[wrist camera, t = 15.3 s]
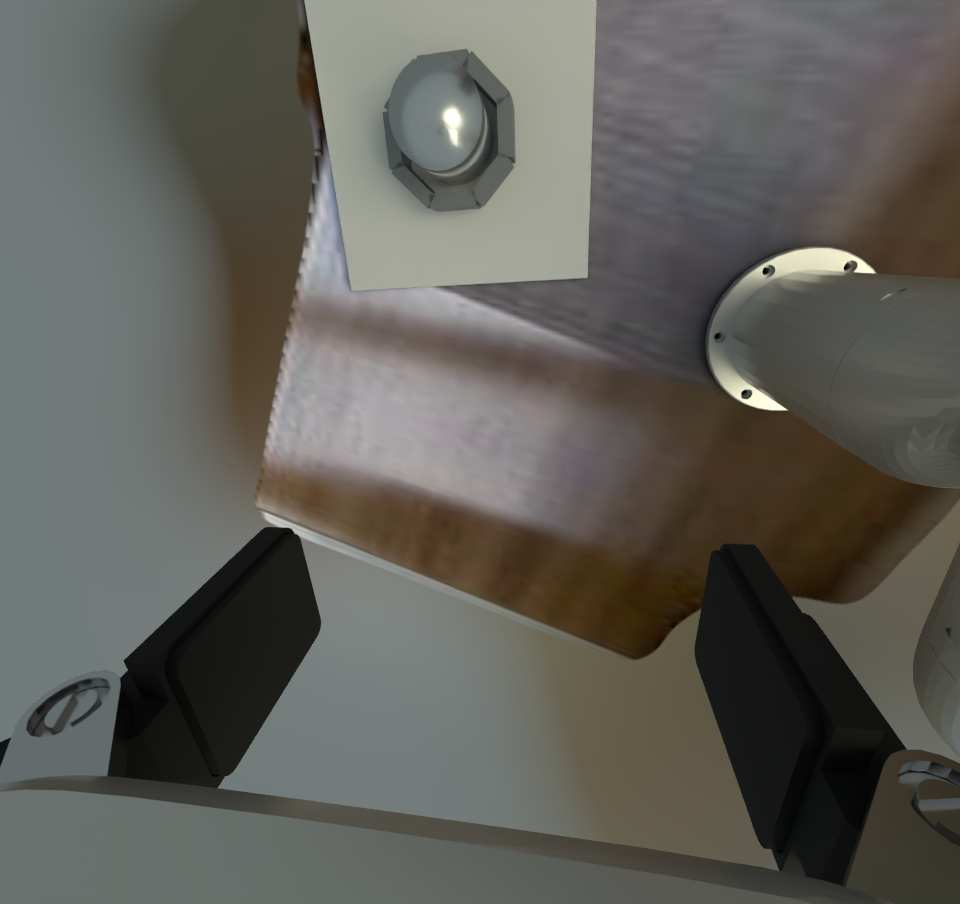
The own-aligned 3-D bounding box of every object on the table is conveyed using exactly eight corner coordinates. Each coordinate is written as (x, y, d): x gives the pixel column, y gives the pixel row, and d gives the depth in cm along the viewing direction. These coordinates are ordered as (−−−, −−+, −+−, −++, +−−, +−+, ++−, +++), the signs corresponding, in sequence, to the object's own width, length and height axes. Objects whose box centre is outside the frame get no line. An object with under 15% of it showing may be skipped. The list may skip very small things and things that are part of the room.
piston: (489, 89, 32) (475, 43, 25) (498, 179, 34) (487, 161, 27) (413, 103, 33) (378, 63, 26) (426, 191, 35) (397, 176, 28)
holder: (597, -56, 29) (602, -93, 26) (586, 277, 37) (589, 279, 34) (309, -7, 32) (282, -35, 29) (355, 290, 40) (339, 293, 37)
